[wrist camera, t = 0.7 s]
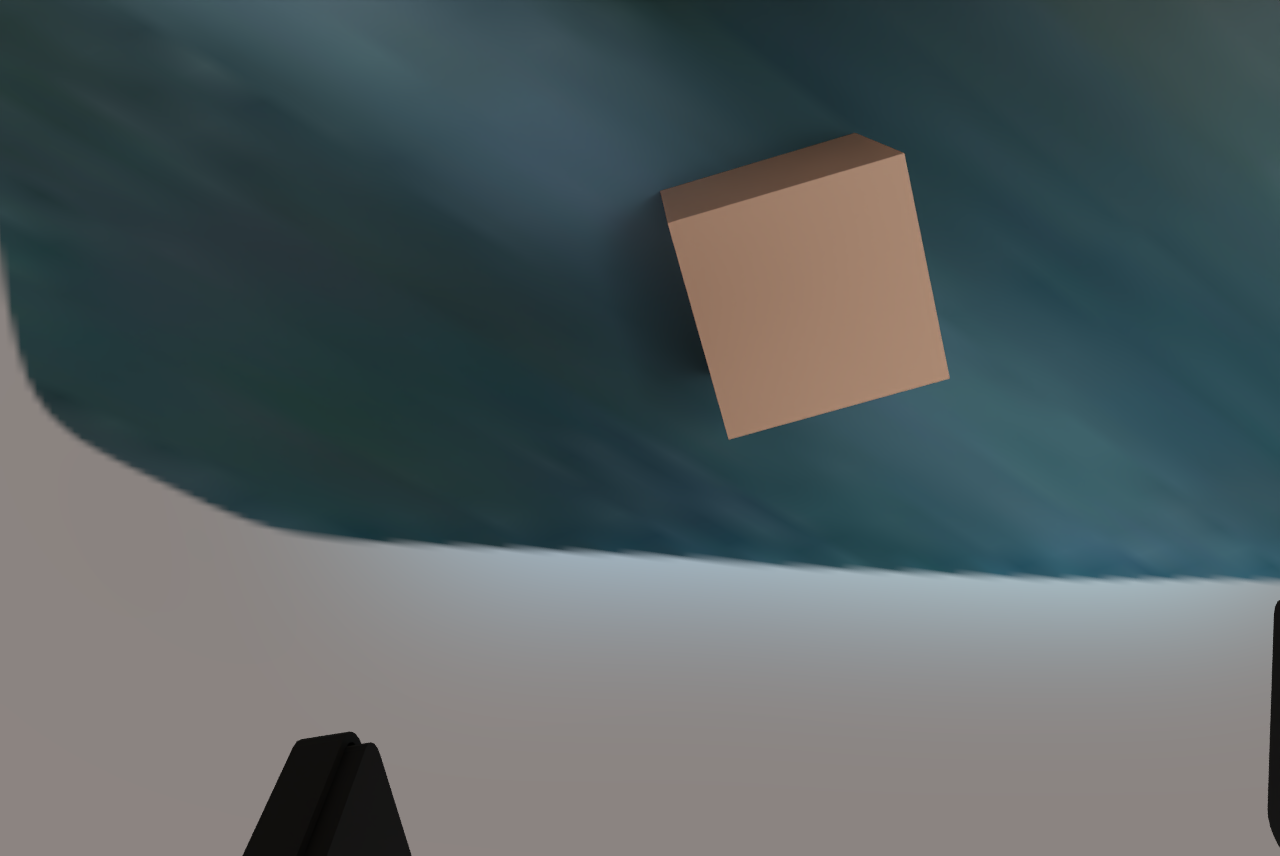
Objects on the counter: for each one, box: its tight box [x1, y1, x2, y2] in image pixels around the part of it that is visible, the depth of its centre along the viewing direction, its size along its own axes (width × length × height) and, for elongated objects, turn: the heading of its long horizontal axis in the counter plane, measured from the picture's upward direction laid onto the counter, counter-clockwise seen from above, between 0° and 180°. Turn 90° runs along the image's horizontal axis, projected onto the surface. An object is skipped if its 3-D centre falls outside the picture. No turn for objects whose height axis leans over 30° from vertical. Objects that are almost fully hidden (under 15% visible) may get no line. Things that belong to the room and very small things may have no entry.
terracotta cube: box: [660, 133, 950, 439], centre depth 30 cm, size 6×6×6 cm
